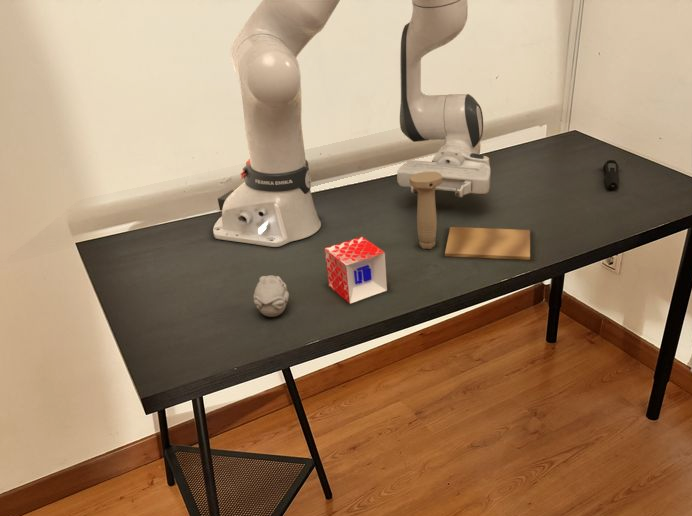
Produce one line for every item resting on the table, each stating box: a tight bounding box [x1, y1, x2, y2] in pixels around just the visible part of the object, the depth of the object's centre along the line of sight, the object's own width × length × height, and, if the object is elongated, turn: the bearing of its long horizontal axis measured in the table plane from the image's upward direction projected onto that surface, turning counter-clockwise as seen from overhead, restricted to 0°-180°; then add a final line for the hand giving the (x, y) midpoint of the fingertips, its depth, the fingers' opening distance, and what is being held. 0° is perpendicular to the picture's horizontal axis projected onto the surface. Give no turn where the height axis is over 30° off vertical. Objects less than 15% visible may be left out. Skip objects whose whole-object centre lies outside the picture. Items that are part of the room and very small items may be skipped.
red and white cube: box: [324, 236, 388, 305], centre depth 132 cm, size 8×8×8 cm
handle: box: [409, 172, 442, 250], centre depth 144 cm, size 5×6×15 cm
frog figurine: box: [253, 274, 290, 318], centre depth 125 cm, size 6×7×7 cm
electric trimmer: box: [602, 159, 620, 190], centre depth 176 cm, size 4×16×3 cm, turn 171°
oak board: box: [444, 226, 531, 261], centre depth 148 cm, size 17×12×1 cm
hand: (436, 191), depth 149 cm, fingers open, 8 cm apart
